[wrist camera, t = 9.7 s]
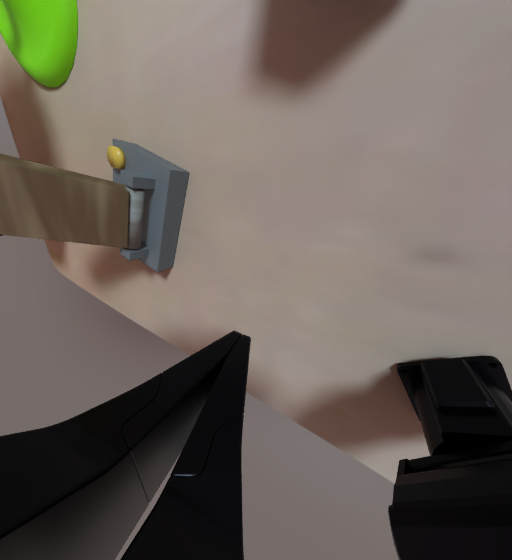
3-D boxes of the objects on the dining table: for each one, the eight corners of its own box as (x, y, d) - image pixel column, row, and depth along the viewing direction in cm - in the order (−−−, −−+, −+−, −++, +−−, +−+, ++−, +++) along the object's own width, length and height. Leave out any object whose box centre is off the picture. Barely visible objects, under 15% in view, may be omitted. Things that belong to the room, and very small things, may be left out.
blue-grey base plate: (189, 172, 21) (147, 166, 17) (172, 266, 27) (139, 278, 23) (135, 144, 22) (85, 131, 18) (131, 238, 28) (93, 245, 24)
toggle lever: (144, 196, 18) (-269, 101, 9) (140, 254, 22) (-168, 225, 13) (144, 185, 21) (-184, 100, 12) (140, 239, 24) (-119, 204, 15)
